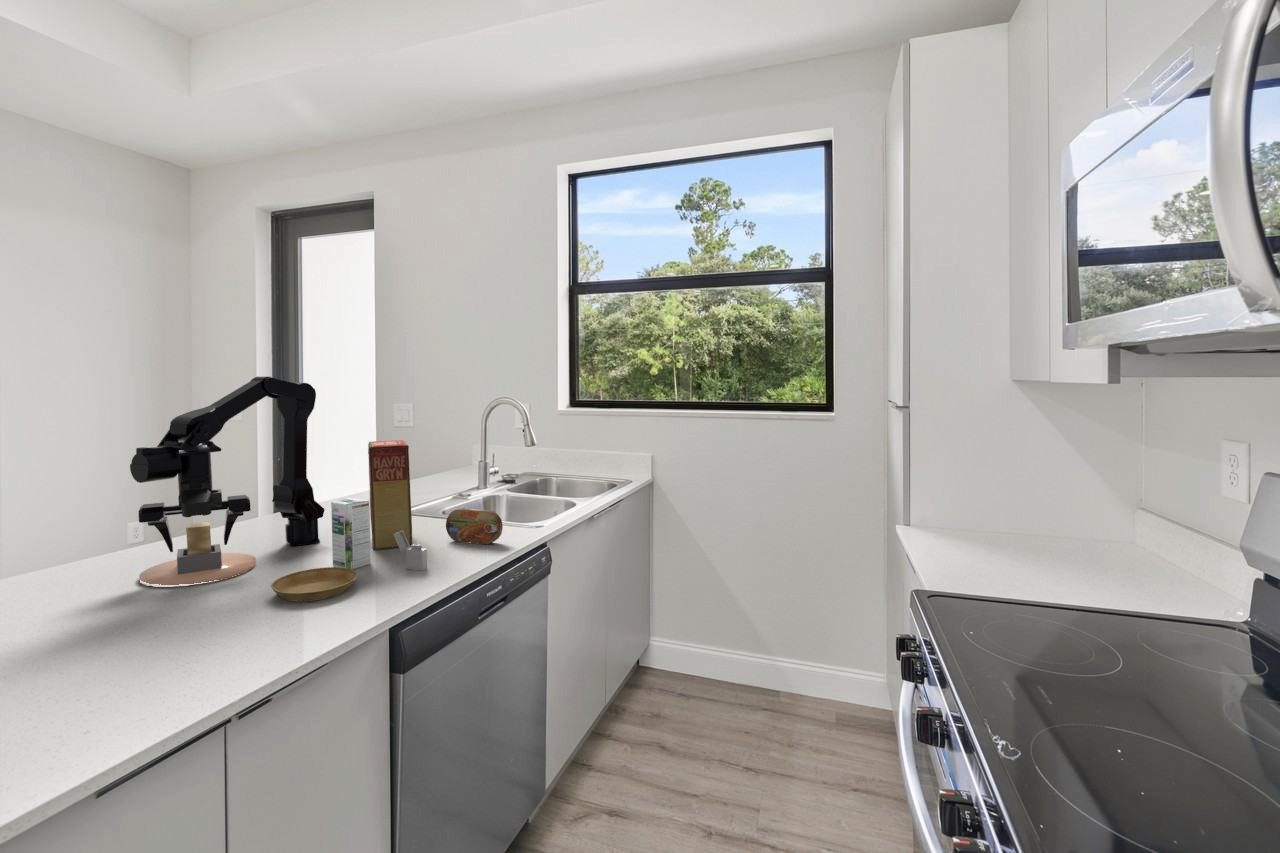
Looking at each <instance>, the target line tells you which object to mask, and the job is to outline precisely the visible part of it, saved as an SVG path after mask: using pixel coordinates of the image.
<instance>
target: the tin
mask: <svg viewBox="0 0 1280 853" xmlns="http://www.w3.org/2000/svg"><path fill="white" fill-rule="evenodd" d="M445 529H446V532H447V535H448V536H449V538H450V539H451V540H453V541H454V542H456V541H457V542H456V543H461V542H471V543H470V544H473V543H481V544H480V545H484V544H486V545H490V544H492V543H493V542H496V541H498V539H499V538H500V537H501V535H502V533H503V529H504V528H503V521H502V518H501V517H500V515H499V514H498V513H497V512H495V511H493V510H491V509H490V510H489V509H476V508H475V509H474V508H473V509H472V508H459V509H455V510H453V511H451V512H450V513H449V515H448V516H447V518H446V521H445Z"/></svg>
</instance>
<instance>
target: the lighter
mask: <svg viewBox="0 0 1280 853" xmlns="http://www.w3.org/2000/svg"><path fill="white" fill-rule="evenodd" d="M394 537H395V540H396V542H397V544H398V546H399V548H398V549H399V551H400V552H403V551H405V556H406V557H405V558H406V559H405V560H406V569H407V570H414V571H415V570H416V571H424V570H427V569H428V555H427V554H428V551H427V550H428V549H427V548H423V546H422V544H419V543H412V545H411V546H410V545H409V543H408V541H407V538H406V536H405V534H404V532H403V530H402V531H399V532H397V533H395V534H394Z"/></svg>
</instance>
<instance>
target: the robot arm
mask: <svg viewBox="0 0 1280 853" xmlns="http://www.w3.org/2000/svg"><path fill="white" fill-rule="evenodd" d="M265 397H267V398H270V399H273V400H274V399H275V400H276V403H277V409H278V410H279V412H280V414H281V416H282V417H283V419H284V422H283V427H284V429H283V477H282V480H281V481H280V483H279V484H278V485H277V484H274V485H273V487H272V491H273V499H272V500H271V502H273V503H274V508H275V509H277V510H278V511H279V512H280V515H281V517H282V518H283V519H287V524H285V526H284V528H285V541H286V543H287V544H289V546H290V547H296V546H305V545H310V544H318V543H320V542H321V540H320V538H319V519H321V518H322V519H323V517H324V513H325V508H324V507H323V506H322V505H320V504H319V503H318V502H317V501H316V500H315V496H314V495H315V494H314V490H313V489H314V488H313V486H312V485H311V483H310V481H309V479H308V476H307V475H308V474H307V472H308V471H307V469H308V466H307V465H308V464H307V462H308V456H307V455H308V420H309V417H310V415H311V414H312V412H313V411H314V409H315V404H316V397H317V392H316V389H315V388H314V387H313V386H312V385H311V384H310V383H308V382H291V381H286V380H282V379H277V378H274V377H272V376H255V377H253V378H252V379H251V380H250V381H249V382H246V383H245V384H243V385H242V386H241V387H238V388H237V389H235V390H234V391H232V392H230V393H229V394H226V395H225V396H223V397H221V398H220V399H218V400H217V401H215V402H213V403H212V404H209V405H208V406H204V407H202V408H197V409H194V410H191V411H188V412H185V413H183V414H180V415H177V416H176V417H174V418H173V419H172V420H171V421H170V423H169V424H170V425H169V429H168V430H167V432H166V434H165V435H164V436H163V438H162V439H161V440H160V442H159V443H158V445H157V446H155V447H154V446H153V447H147V446H145V447H136V448H135V452H136V454H134V455H133V457H132V459H131V463H130V464H129V470H130V471H129V472H130V474H131V476H132V478H133V480H135V482H137V483H140V484H141V483H149V482H157V481H163V480H171V479H174V478H176V477H177V482H178V483H177V484H178V485H177V486H178V498H177V499H178V504H177V505H176V504H175V505H168V506H165V502H155V503H154V502H153V503H145V504H142V505H141V506H140V507H139V509H138V522H139V523H141V524H143V523H147V526H148V527H150V526H151V527H152V526H153V527H155V528H156V529H157V530H158V532H159V533H160V535H161V536H162V538H163V540H164V542H165V543H166V546H167V548H168V550H169V553H173V552H174V544H173V540H172V532H171V529H170V528H171V527H170V525H169V520H168V516H175V515H181V516H182V517H183V518H191V517H194V516H203V517H205V516H210V515H211V514H212V512H213V511H221V510H222V511H224V510H226V511H225V520H224V530H223V531H224V533H223V543H224V544H223V545H224V546H227V544H228V541H229V538H230V535H231V532H232V529H233V526H234V524H235V523H236V521H237V519H238V517H241V516H244V513H246V512H250V511H252V510H251V500H250V497H249V496H248V495H246V494H240V495H230V496H229V495H227V497H226V499H227V500H223V496H222V495H223V494H222V488H220V489H213V476H212V474H213V472H212V456H211V455H212V454H211V453H217V452H222V448H221V447H219V446H218V445H216V444H215V443H214V442H213V441H212V440H213V438H215V436H216V435H218V434H219V433H220V432H221V431H222V429H223V427H225V424H226V423H227V422H229V421H230V420H231V419H233V418H234V417H235V416H237V415H239V414H240V413H242V412H244V411H245V410H246V409H247V410H248V408H250V407H251V406H253V405H254V404H256V403H258V402H260V401H261V400H262V399H265Z"/></svg>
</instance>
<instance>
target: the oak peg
mask: <svg viewBox="0 0 1280 853" xmlns="http://www.w3.org/2000/svg"><path fill="white" fill-rule="evenodd" d="M185 526H186V545H187V546H186V548H187V549H188V555H193V554H201V553H208V552H211V545H212V539H211V537H212V536H211V522H210V521H206V522H198V523H197V522H196V523H188V524H186V525H185Z"/></svg>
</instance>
